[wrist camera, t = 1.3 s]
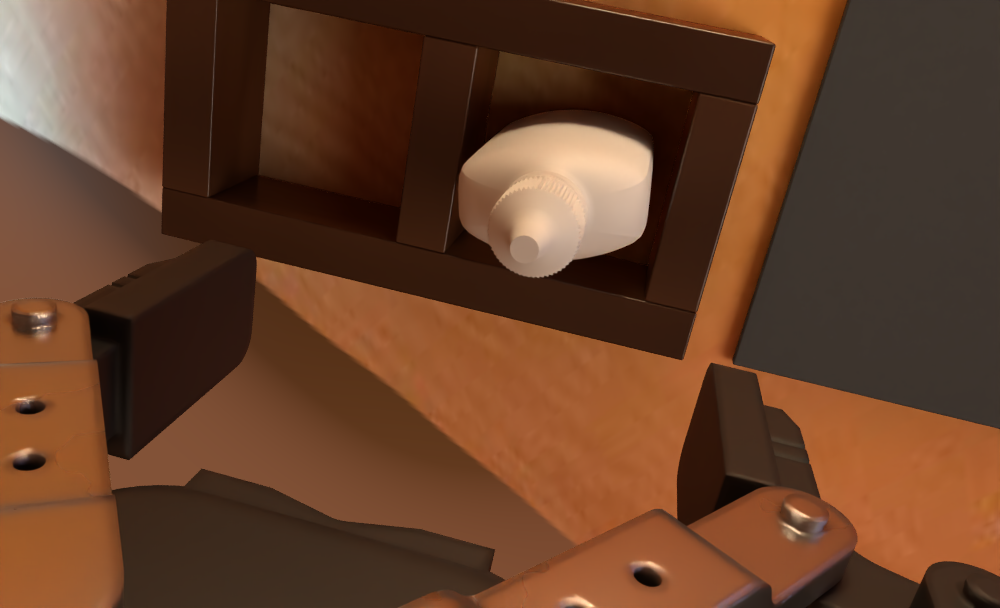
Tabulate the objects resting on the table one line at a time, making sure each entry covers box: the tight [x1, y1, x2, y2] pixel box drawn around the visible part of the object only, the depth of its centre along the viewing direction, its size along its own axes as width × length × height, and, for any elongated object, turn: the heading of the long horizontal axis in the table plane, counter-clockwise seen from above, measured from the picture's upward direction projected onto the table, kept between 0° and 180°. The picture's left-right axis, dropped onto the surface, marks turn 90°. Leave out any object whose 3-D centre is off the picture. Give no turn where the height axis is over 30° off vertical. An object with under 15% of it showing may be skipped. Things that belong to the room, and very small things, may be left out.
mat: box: [733, 0, 1000, 429], centre depth 29 cm, size 15×12×1 cm
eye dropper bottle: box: [458, 110, 654, 278], centre depth 25 cm, size 4×6×12 cm
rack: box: [162, 0, 775, 360], centre depth 30 cm, size 11×19×4 cm, turn 79°
